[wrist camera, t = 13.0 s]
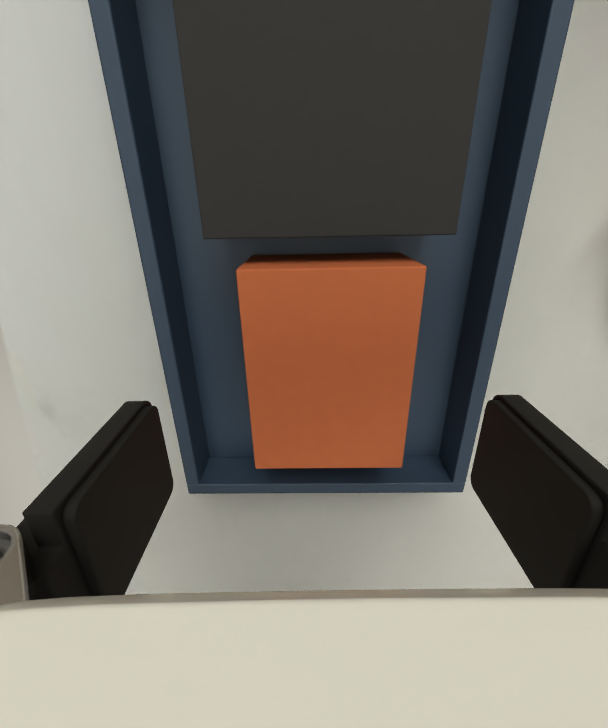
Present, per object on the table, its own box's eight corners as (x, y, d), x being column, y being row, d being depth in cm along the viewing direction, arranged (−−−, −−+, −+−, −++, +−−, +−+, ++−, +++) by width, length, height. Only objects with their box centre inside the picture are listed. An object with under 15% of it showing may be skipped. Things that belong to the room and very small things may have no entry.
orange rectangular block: (264, 421, 17) (254, 469, 14) (251, 254, 14) (235, 269, 11) (385, 419, 17) (402, 468, 14) (400, 252, 14) (427, 265, 11)
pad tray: (444, 457, 19) (463, 492, 17) (203, 458, 19) (188, 494, 17) (551, -122, 10) (624, -219, 8) (105, -106, 10) (46, -196, 8)
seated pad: (223, 232, 14) (202, 239, 11) (190, -80, 10) (147, -184, 8) (427, 228, 14) (456, 234, 11) (465, -89, 10) (523, -199, 7)
